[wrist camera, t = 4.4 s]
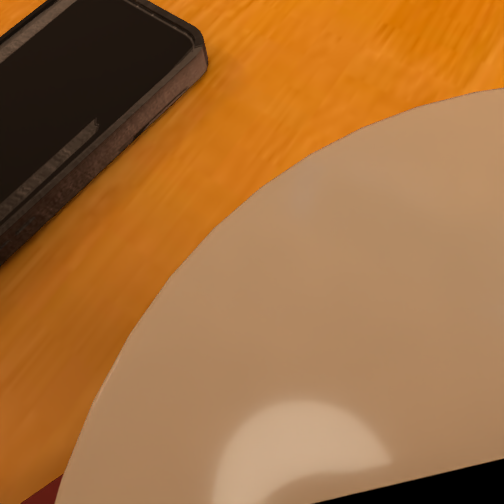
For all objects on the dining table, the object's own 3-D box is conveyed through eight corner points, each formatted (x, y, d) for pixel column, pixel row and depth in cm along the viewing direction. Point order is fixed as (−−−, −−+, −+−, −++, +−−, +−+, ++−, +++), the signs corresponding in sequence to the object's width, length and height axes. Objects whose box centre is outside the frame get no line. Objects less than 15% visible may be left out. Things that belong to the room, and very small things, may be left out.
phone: (-207, 199, 18) (88, -34, 21) (-179, 213, 19) (98, -11, 22) (-96, 328, 15) (217, 38, 19) (-71, 337, 16) (222, 60, 20)
